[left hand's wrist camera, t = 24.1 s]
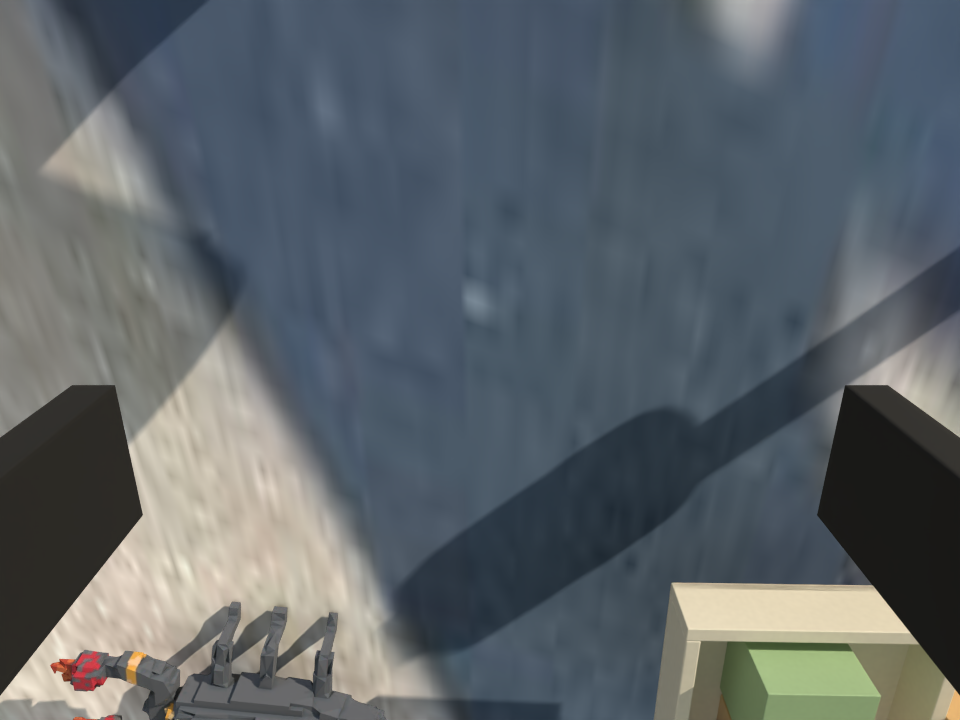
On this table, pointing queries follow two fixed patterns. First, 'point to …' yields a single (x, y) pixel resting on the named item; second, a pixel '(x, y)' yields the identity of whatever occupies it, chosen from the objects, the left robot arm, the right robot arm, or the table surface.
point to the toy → (225, 682)
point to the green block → (796, 682)
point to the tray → (794, 618)
